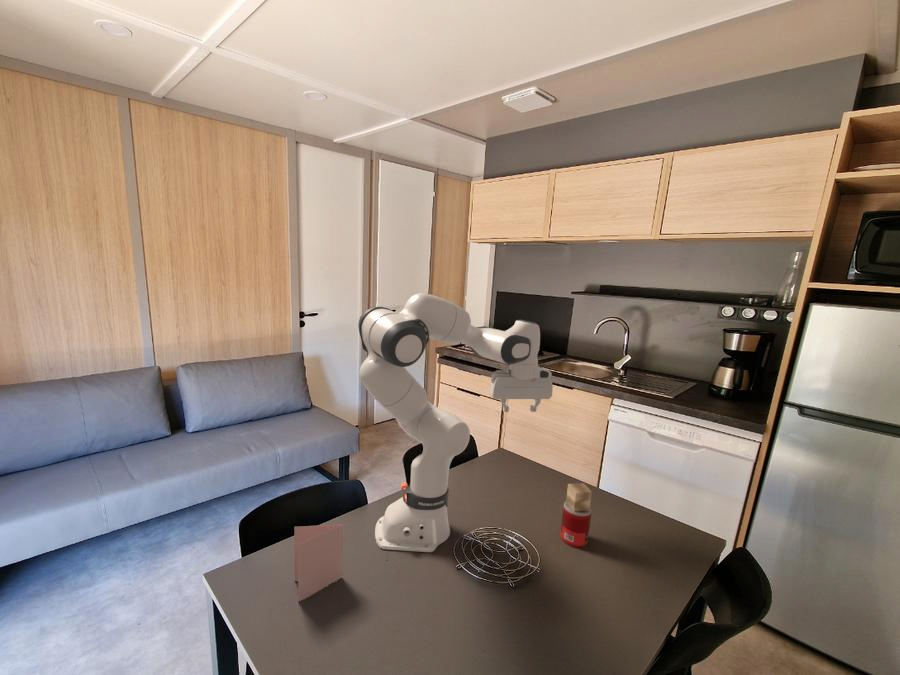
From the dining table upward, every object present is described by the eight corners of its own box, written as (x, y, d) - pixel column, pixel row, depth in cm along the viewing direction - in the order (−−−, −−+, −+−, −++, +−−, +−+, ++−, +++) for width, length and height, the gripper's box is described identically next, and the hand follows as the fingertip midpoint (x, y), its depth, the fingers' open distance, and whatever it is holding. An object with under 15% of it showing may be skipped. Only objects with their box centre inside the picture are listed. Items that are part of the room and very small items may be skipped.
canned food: (591, 549, 116) (595, 515, 115) (563, 547, 116) (567, 513, 115) (582, 532, 124) (586, 499, 122) (557, 530, 124) (561, 498, 122)
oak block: (573, 511, 116) (576, 492, 114) (565, 501, 120) (568, 483, 119) (589, 510, 116) (591, 492, 115) (581, 501, 121) (583, 483, 120)
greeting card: (342, 575, 101) (343, 522, 99) (339, 599, 94) (340, 542, 91) (295, 579, 99) (295, 524, 96) (288, 603, 92) (288, 545, 89)
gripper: (494, 372, 122) (491, 415, 124) (556, 373, 126) (552, 414, 128) (489, 367, 128) (486, 408, 131) (548, 368, 132) (544, 407, 134)
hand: (519, 411), depth 129 cm, fingers open, 8 cm apart
